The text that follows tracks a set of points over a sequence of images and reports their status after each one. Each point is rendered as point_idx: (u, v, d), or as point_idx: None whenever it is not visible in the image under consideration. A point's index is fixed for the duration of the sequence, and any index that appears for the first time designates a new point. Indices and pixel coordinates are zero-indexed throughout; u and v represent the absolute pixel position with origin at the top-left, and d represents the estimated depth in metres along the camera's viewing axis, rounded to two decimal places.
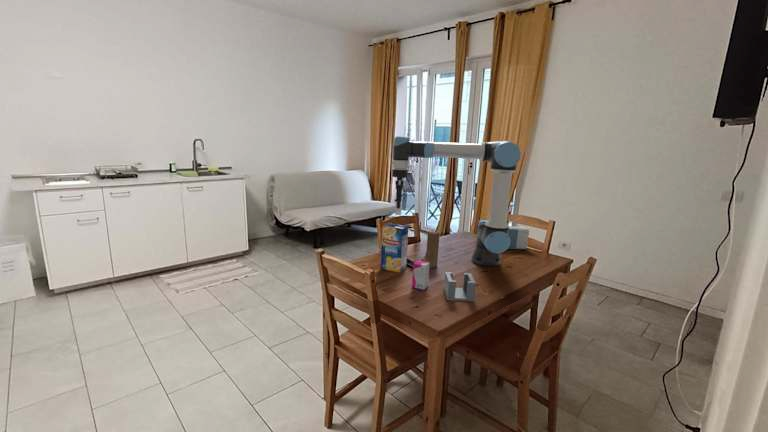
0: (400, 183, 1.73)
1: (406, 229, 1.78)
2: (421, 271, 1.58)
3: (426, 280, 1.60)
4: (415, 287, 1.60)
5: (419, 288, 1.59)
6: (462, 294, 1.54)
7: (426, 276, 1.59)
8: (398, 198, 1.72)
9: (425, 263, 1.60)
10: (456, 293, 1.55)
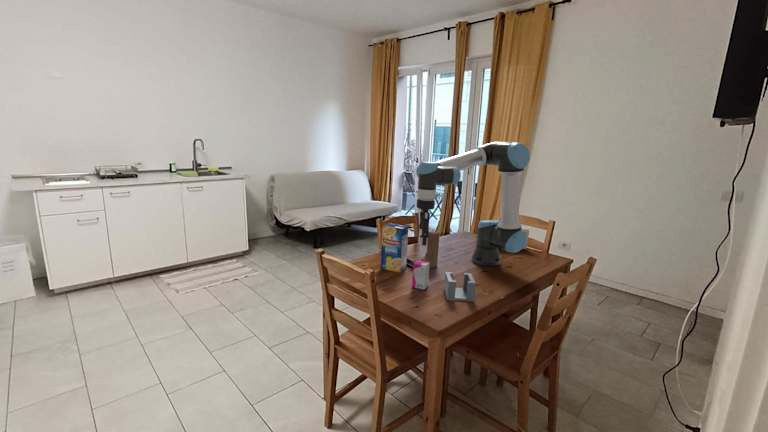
0: (427, 216, 1.49)
1: (406, 229, 1.78)
2: (421, 271, 1.58)
3: (426, 280, 1.60)
4: (415, 287, 1.60)
5: (419, 288, 1.59)
6: (462, 294, 1.54)
7: (426, 276, 1.59)
8: (424, 234, 1.47)
9: (425, 263, 1.60)
10: (456, 293, 1.55)
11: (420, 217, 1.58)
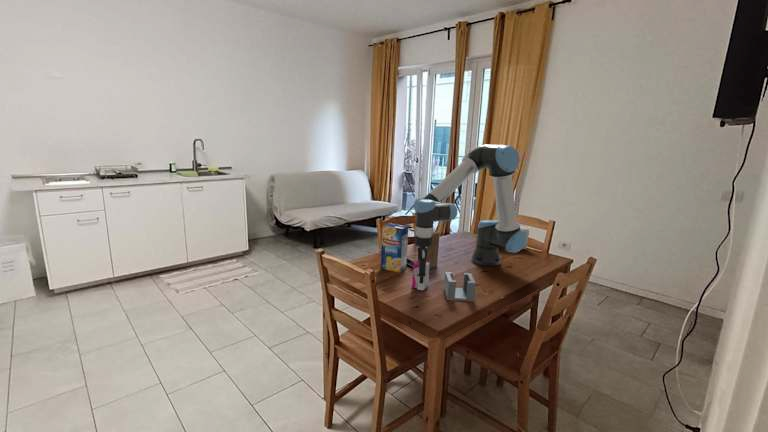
0: (424, 257, 1.53)
1: (406, 229, 1.78)
2: None
3: (426, 280, 1.60)
4: (415, 287, 1.60)
5: None
6: (462, 294, 1.54)
7: (426, 276, 1.59)
8: (421, 273, 1.54)
9: None
10: (456, 293, 1.55)
11: (418, 253, 1.61)
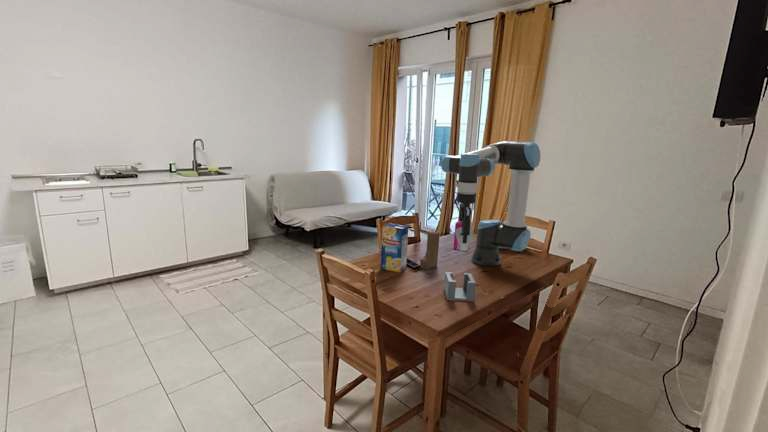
0: (469, 214, 1.42)
1: (406, 229, 1.78)
2: None
3: (469, 241, 1.50)
4: (457, 248, 1.50)
5: None
6: (462, 294, 1.54)
7: (469, 236, 1.49)
8: (466, 232, 1.43)
9: None
10: (456, 293, 1.55)
11: (460, 212, 1.51)
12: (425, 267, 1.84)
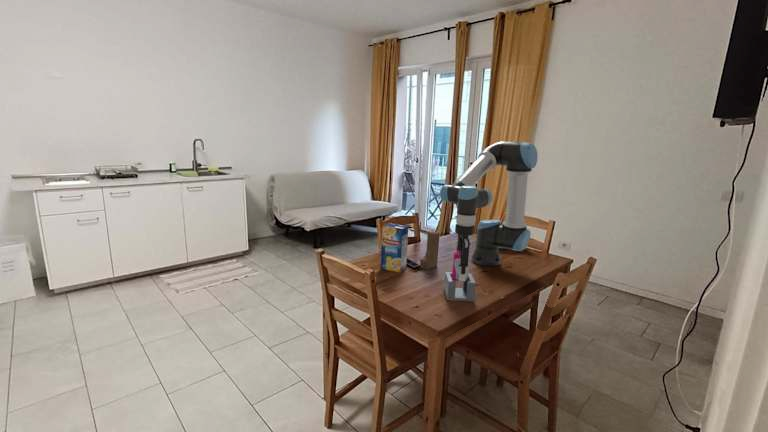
0: (467, 246, 1.45)
1: (406, 229, 1.78)
2: None
3: (467, 271, 1.52)
4: (455, 278, 1.52)
5: None
6: (462, 294, 1.54)
7: (467, 267, 1.52)
8: (464, 263, 1.46)
9: None
10: (456, 293, 1.55)
11: (458, 243, 1.53)
12: (425, 267, 1.84)
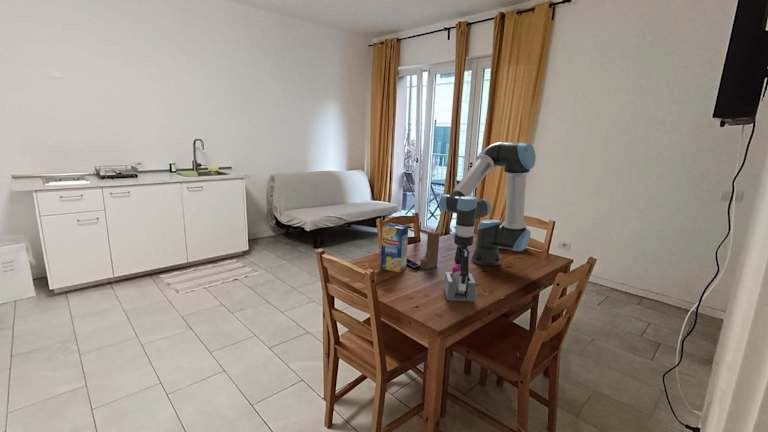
0: (466, 255, 1.45)
1: (406, 229, 1.78)
2: None
3: None
4: None
5: (459, 293, 1.54)
6: None
7: None
8: (464, 273, 1.44)
9: None
10: None
11: (457, 252, 1.54)
12: (425, 267, 1.84)
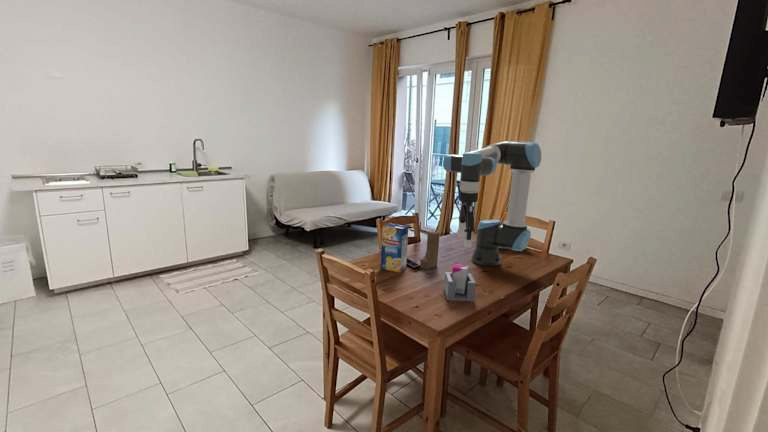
0: (471, 210, 1.43)
1: (406, 229, 1.78)
2: (460, 276, 1.53)
3: (465, 284, 1.55)
4: None
5: (459, 293, 1.54)
6: None
7: (466, 280, 1.54)
8: (470, 228, 1.41)
9: (464, 267, 1.54)
10: None
11: (462, 210, 1.52)
12: (425, 267, 1.84)
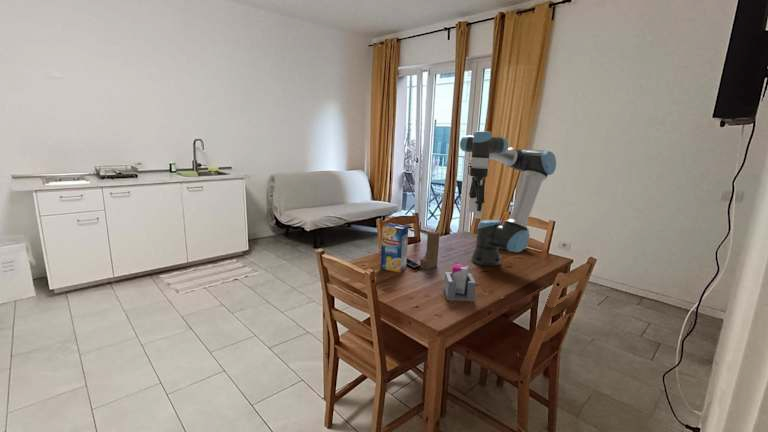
0: (482, 183, 1.55)
1: (406, 229, 1.78)
2: (460, 276, 1.53)
3: (465, 284, 1.55)
4: None
5: (459, 293, 1.54)
6: None
7: (466, 280, 1.54)
8: (480, 200, 1.54)
9: (464, 267, 1.54)
10: None
11: (472, 185, 1.64)
12: (425, 267, 1.84)
